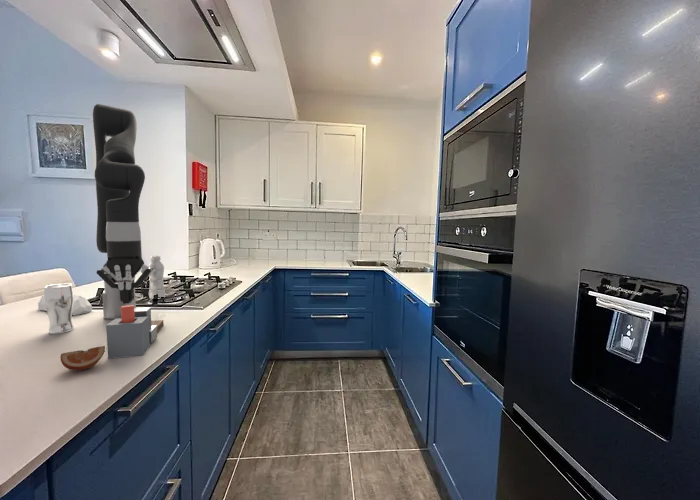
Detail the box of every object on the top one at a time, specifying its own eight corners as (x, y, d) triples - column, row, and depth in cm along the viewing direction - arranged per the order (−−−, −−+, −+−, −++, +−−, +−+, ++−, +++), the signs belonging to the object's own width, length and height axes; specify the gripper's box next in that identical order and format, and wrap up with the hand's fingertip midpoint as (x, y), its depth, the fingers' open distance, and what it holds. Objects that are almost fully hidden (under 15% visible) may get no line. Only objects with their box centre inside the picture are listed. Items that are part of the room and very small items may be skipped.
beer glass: (80, 328, 105) (77, 284, 103) (55, 335, 98) (51, 288, 97) (67, 326, 107) (64, 282, 106) (41, 333, 101) (37, 286, 99)
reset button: (120, 333, 85) (118, 308, 84) (124, 330, 87) (123, 305, 87) (133, 332, 85) (131, 307, 85) (136, 329, 88) (135, 304, 88)
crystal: (100, 301, 126) (62, 295, 134) (82, 295, 120) (43, 290, 128) (91, 319, 123) (52, 312, 131) (71, 315, 117) (32, 308, 125)
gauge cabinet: (107, 358, 83) (106, 325, 82) (117, 349, 89) (115, 318, 88) (142, 355, 85) (141, 322, 85) (149, 346, 91) (148, 316, 90)
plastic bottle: (158, 301, 140) (156, 257, 139) (145, 300, 142) (143, 256, 140) (169, 298, 147) (167, 255, 145) (156, 297, 148) (154, 255, 146)
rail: (130, 347, 90) (129, 341, 90) (150, 326, 108) (150, 320, 108) (146, 346, 91) (145, 339, 91) (163, 325, 109) (163, 319, 109)
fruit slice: (105, 359, 83) (103, 341, 82) (107, 368, 78) (106, 349, 77) (61, 369, 77) (60, 349, 77) (61, 379, 72) (59, 358, 72)
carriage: (126, 345, 90) (124, 313, 89) (133, 338, 96) (131, 307, 95) (151, 343, 92) (150, 311, 91) (157, 336, 98) (156, 306, 97)
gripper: (156, 238, 90) (158, 298, 91) (100, 238, 86) (104, 301, 87) (148, 239, 83) (151, 304, 84) (87, 240, 79) (91, 308, 80)
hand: (127, 302), depth 86 cm, fingers closed
